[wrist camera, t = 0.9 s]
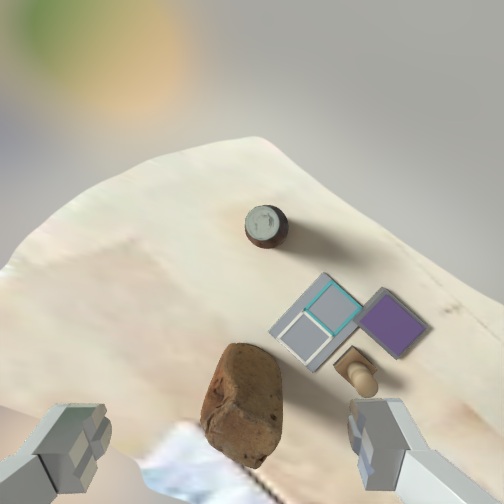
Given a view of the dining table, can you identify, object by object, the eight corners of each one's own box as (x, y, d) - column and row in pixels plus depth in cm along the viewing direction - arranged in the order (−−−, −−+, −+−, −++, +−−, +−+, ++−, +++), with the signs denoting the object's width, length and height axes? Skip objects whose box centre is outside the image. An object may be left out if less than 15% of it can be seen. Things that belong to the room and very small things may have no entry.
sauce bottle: (292, 221, 51) (304, 210, 31) (278, 252, 51) (282, 261, 32) (259, 207, 51) (251, 187, 32) (246, 238, 52) (229, 237, 32)
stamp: (372, 363, 51) (390, 386, 43) (353, 383, 52) (367, 409, 44) (351, 345, 51) (366, 364, 43) (333, 364, 52) (344, 387, 44)
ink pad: (423, 324, 50) (430, 328, 48) (392, 356, 51) (397, 361, 48) (381, 286, 50) (386, 289, 48) (350, 318, 51) (354, 322, 49)
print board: (368, 312, 51) (370, 314, 50) (312, 370, 52) (312, 373, 51) (323, 271, 51) (324, 272, 50) (268, 330, 52) (268, 332, 51)
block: (284, 361, 52) (291, 436, 32) (263, 394, 53) (257, 487, 33) (235, 330, 53) (212, 386, 33) (215, 363, 53) (180, 437, 33)
